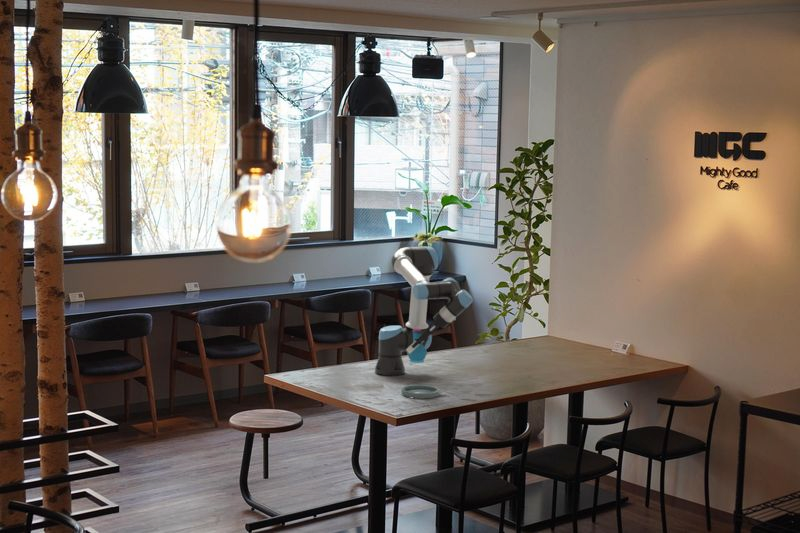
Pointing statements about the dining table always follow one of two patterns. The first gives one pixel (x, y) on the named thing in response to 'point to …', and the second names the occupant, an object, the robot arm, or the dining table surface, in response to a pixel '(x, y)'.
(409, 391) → the round dish
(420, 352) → the perfume bottle
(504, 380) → the dining table surface
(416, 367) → the dining table surface
